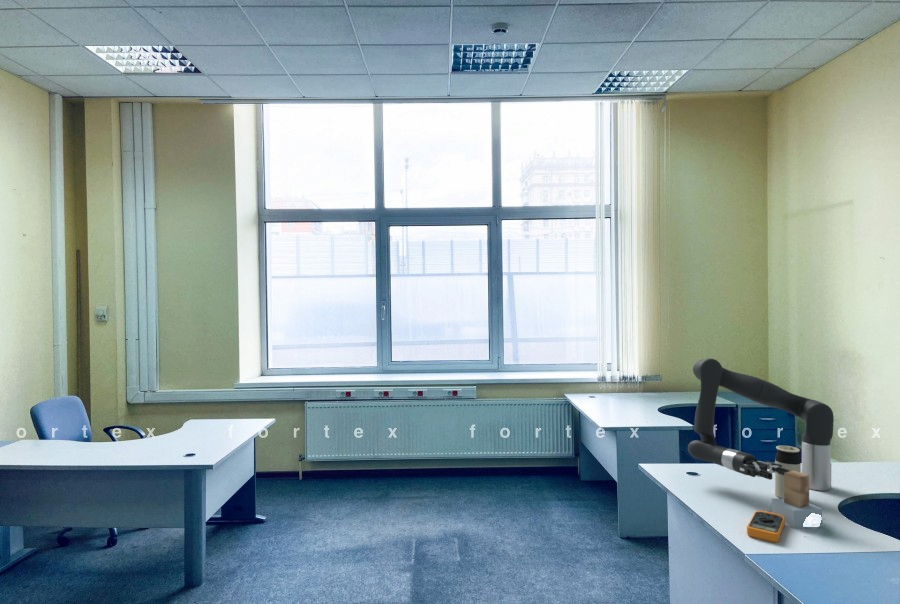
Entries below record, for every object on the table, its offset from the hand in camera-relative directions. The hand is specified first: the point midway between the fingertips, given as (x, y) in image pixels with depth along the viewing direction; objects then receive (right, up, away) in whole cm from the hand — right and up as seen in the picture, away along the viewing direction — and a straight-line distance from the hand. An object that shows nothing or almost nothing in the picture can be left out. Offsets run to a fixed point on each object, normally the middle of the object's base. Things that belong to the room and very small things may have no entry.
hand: (780, 475), depth 183 cm
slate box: (+2, -14, -5) cm, 15 cm away
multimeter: (-12, -14, -12) cm, 22 cm away
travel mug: (+13, -13, +17) cm, 25 cm away
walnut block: (+2, -8, -5) cm, 10 cm away
